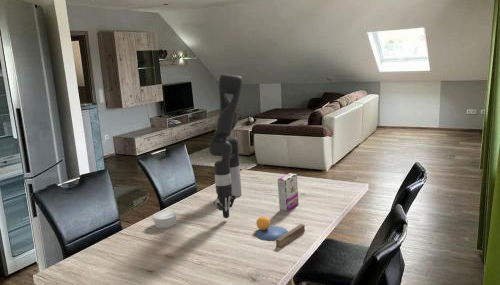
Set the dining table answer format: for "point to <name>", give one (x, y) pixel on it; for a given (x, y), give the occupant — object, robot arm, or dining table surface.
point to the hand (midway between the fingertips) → (226, 217)
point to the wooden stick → (290, 235)
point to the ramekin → (165, 219)
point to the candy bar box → (288, 192)
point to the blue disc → (271, 233)
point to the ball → (263, 223)
